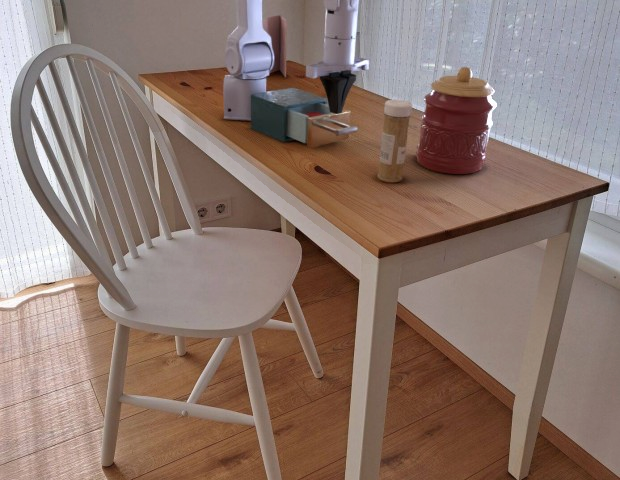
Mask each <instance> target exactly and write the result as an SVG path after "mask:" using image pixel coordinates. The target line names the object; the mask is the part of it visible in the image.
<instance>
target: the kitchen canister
mask: <svg viewBox="0 0 620 480" xmlns="http://www.w3.org/2000/svg"><path fill="white" fill-rule="evenodd" d="M430 89H432V90H431V92H429V93H427V94H426V95H424V97H423V102H425V109H424V112H423V113H422V114H421V122H420V123H421V124H420V132H419V137H418V145H417V146H416V161H417V163H418V164H419V165H420V166H422V167H423V168H425V169H428V170H431V171H434V172H437V173H443V174H448V175H449V174H450V175H467V174H468V175H469V174H473V173H477V172H479V171H481V170H482V169H483V166H484V163H485V162H486V158H487V153H486V152H487V148H488V144H489V137H490V134H491V128H492V126H493V121H492V113H493V111H494V110H495V109H496V107H497V102H496V101H495V100H494V99H493V98H492V95H494V93H495V89H494V88H493V87H492V86H491V85H489V82H487V81H486V80H484V79H481V78H478V77H475V76H473V72H472V69H471V68H470V67H468V66H462V67H460V68H459V69H458V70H457V73H456V75H445V76H441V77H439V79H437V80H435V81H433V82H431V84H430Z"/></svg>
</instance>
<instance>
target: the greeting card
mask: <svg viewBox="0 0 620 480" xmlns="http://www.w3.org/2000/svg"><path fill="white" fill-rule="evenodd" d="M262 28H263V29H264V30H265V31H266V32H267V33H268V34H269V35H270V37H271V44H272V49H273V52H274V65H273V68H272V69H271V70H270V71H269V74H271V73H274V72H276V71H278V70H279V71H280V72H281V73H282V75H283V76H284V78H287V37H288V35H287V34H288V32H287V31H288V30H287V29H288V20H287V19H286V18H284V17H283V16H282V15H281V14H277V15H273V16H270V17H265V18H262Z"/></svg>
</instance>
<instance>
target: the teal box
mask: <svg viewBox="0 0 620 480" xmlns="http://www.w3.org/2000/svg"><path fill="white" fill-rule="evenodd" d="M316 103H323V104H326V105H328V99H327V97H324V96H321V95H317V94H314V93H312V92H309V91H305V90H302V89H299V88H296V87H288V88H282V89H277V90H276V89H275V90H270V91H269V90H268V91H266V92H263V93H257V94H251V121H250V129H251V130H253V131H255V132H258V133H260V134H262V135H265V136H268V137H270V138H273V139H275V140H277V141H279V142H282V143H287V142H291V141H295V140H296V139H293V138H291V137H288V136H286V113H287V109H290V108H295V107H300V106H305V105H310V104H316ZM296 141H297V140H296Z"/></svg>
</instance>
